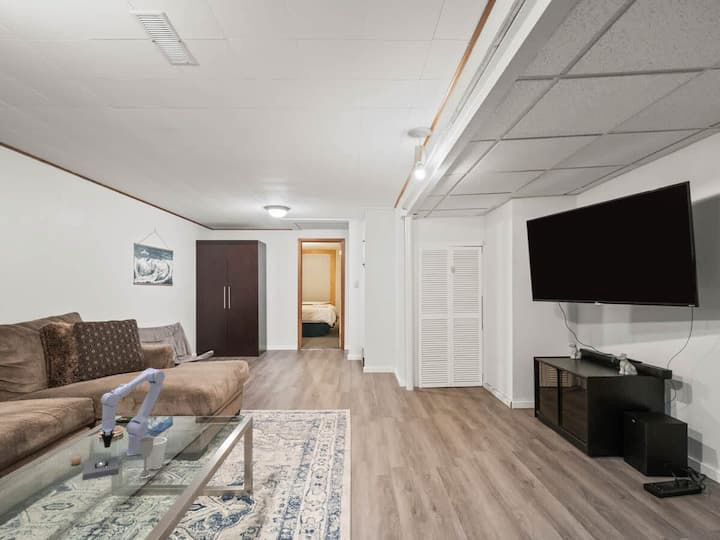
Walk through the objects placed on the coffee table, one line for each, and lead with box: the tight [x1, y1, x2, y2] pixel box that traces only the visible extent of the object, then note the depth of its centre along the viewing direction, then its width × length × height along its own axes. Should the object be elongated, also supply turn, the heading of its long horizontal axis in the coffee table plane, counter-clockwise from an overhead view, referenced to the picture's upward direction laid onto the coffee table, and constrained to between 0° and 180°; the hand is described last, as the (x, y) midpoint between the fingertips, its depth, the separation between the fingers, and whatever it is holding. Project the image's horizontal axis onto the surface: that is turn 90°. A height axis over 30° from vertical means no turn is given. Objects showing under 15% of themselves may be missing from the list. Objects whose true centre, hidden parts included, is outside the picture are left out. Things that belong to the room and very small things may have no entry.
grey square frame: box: [82, 456, 119, 480], centre depth 197 cm, size 14×14×2 cm
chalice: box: [138, 435, 155, 477], centre depth 193 cm, size 7×7×18 cm
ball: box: [70, 455, 82, 466], centre depth 202 cm, size 4×4×4 cm
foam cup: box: [146, 436, 168, 470], centre depth 203 cm, size 10×9×13 cm
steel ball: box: [96, 462, 106, 468], centre depth 197 cm, size 4×4×4 cm
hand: (107, 444), depth 204 cm, fingers open, 7 cm apart
